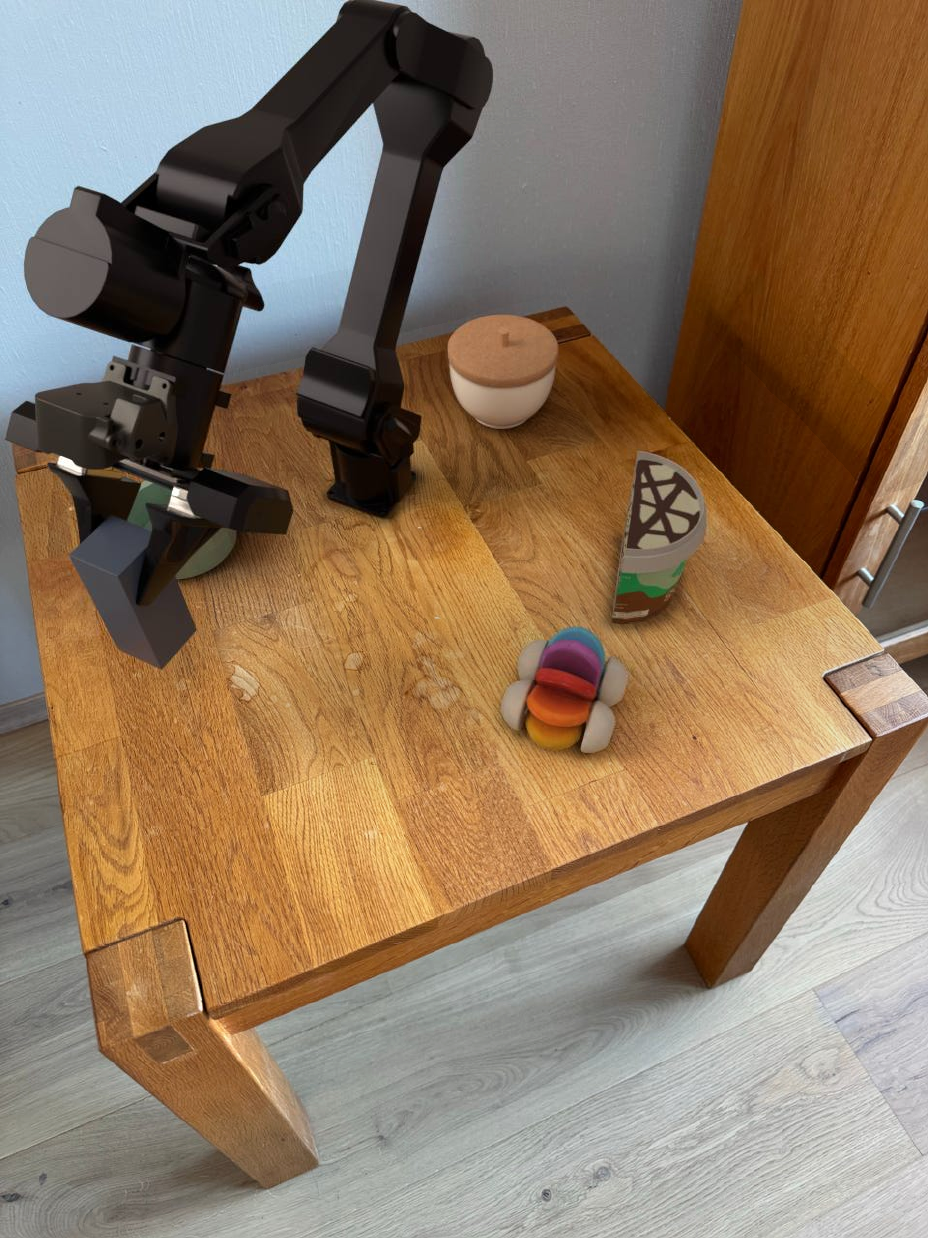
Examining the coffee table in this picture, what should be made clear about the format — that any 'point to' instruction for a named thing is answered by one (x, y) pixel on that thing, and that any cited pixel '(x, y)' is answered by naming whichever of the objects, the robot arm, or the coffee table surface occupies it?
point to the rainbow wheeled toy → (565, 691)
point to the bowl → (206, 555)
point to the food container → (657, 537)
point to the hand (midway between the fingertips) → (116, 593)
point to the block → (131, 593)
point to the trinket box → (502, 368)
